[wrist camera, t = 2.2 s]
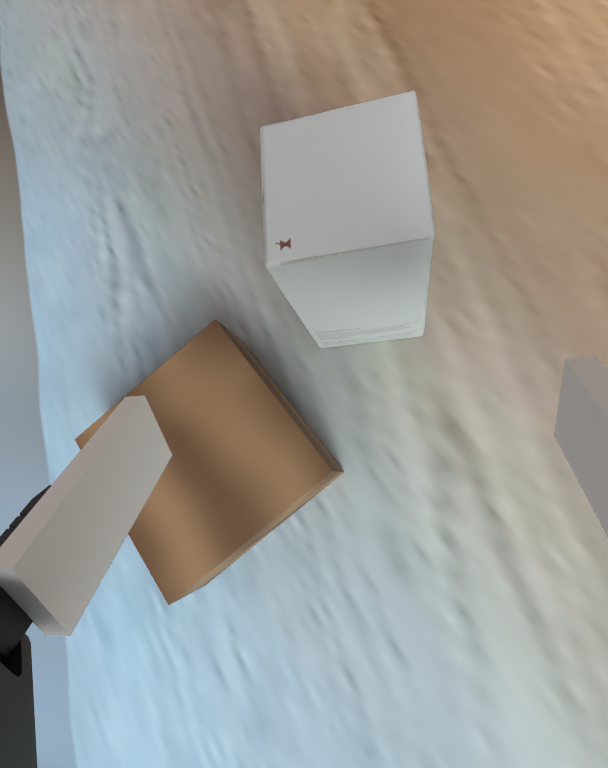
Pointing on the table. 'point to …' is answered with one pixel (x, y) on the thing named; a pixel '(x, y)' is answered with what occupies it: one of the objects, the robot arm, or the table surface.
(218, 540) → the walnut box
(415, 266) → the supplement box
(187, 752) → the table surface
